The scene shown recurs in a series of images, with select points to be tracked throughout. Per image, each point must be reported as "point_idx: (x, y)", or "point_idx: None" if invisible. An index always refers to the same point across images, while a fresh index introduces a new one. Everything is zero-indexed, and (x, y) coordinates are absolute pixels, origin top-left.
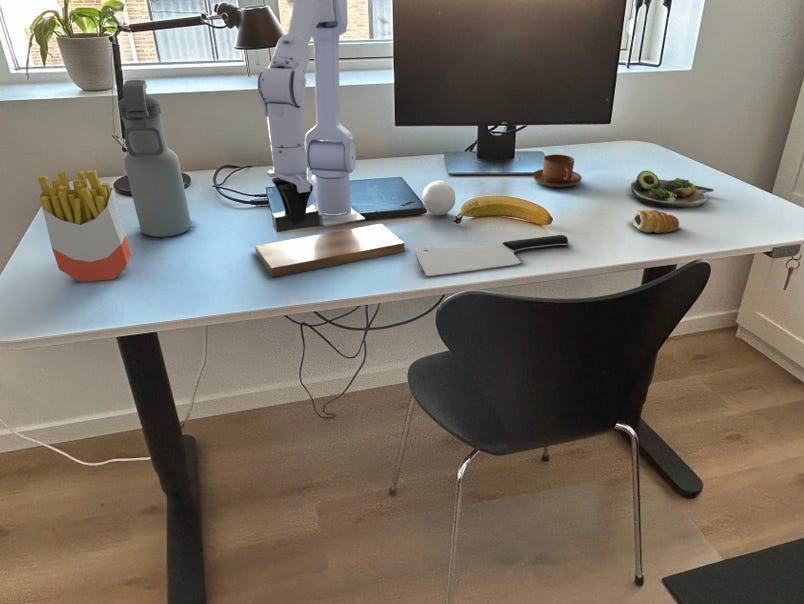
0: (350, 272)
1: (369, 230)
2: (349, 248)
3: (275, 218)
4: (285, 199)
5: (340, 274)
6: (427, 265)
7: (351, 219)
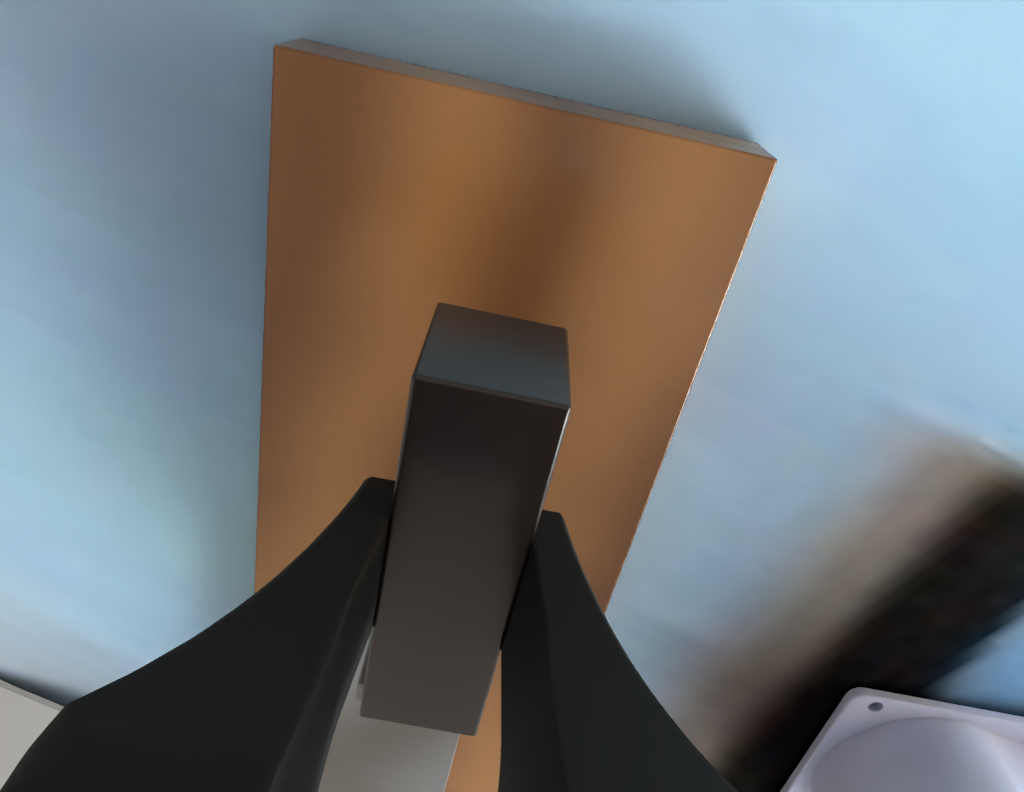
0: (148, 461)
1: (485, 756)
2: None
3: (413, 372)
4: (333, 642)
5: (145, 410)
6: (33, 716)
7: (340, 774)
